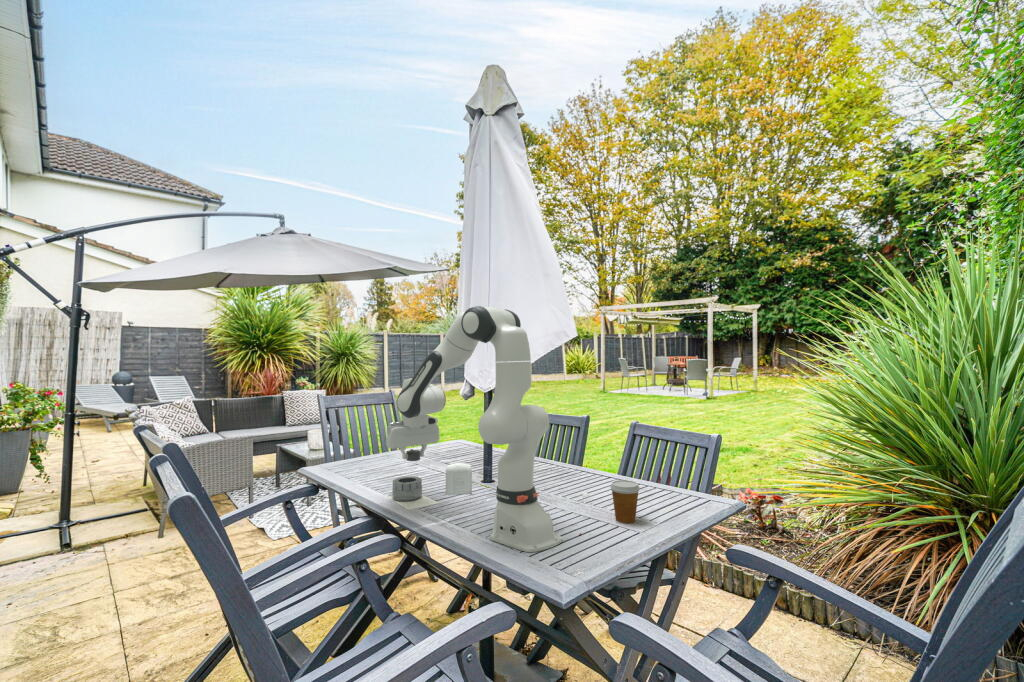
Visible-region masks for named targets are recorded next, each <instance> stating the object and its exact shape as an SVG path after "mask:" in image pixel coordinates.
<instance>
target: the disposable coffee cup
mask: <svg viewBox="0 0 1024 682" xmlns="http://www.w3.org/2000/svg"><path fill="white" fill-rule="evenodd" d="M609 487H610V490H611V495H612V501H613V510H614V516H615V520H616V521H617V522H619V523H622V524H632V523H635V522H636V519H637V518H636V516H637V507H638V500H639V499H638V498H639V491H640V489H641V488H640V487H641V486H639V483H638V482H636V481H633V480H626V479H625V480H624V479H619V480H614V481H611V485H610V486H609Z"/></svg>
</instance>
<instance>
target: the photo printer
mask: <svg viewBox="0 0 1024 682" xmlns="http://www.w3.org/2000/svg"><path fill="white" fill-rule="evenodd" d="M472 493H473V469H472V466H471V464H469V463H465V462H464V463H462V462H456V463H451V464H448V465H446V469H445V494H446V495H448V496H449V495H467V494H468V495H473V494H472Z"/></svg>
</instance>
